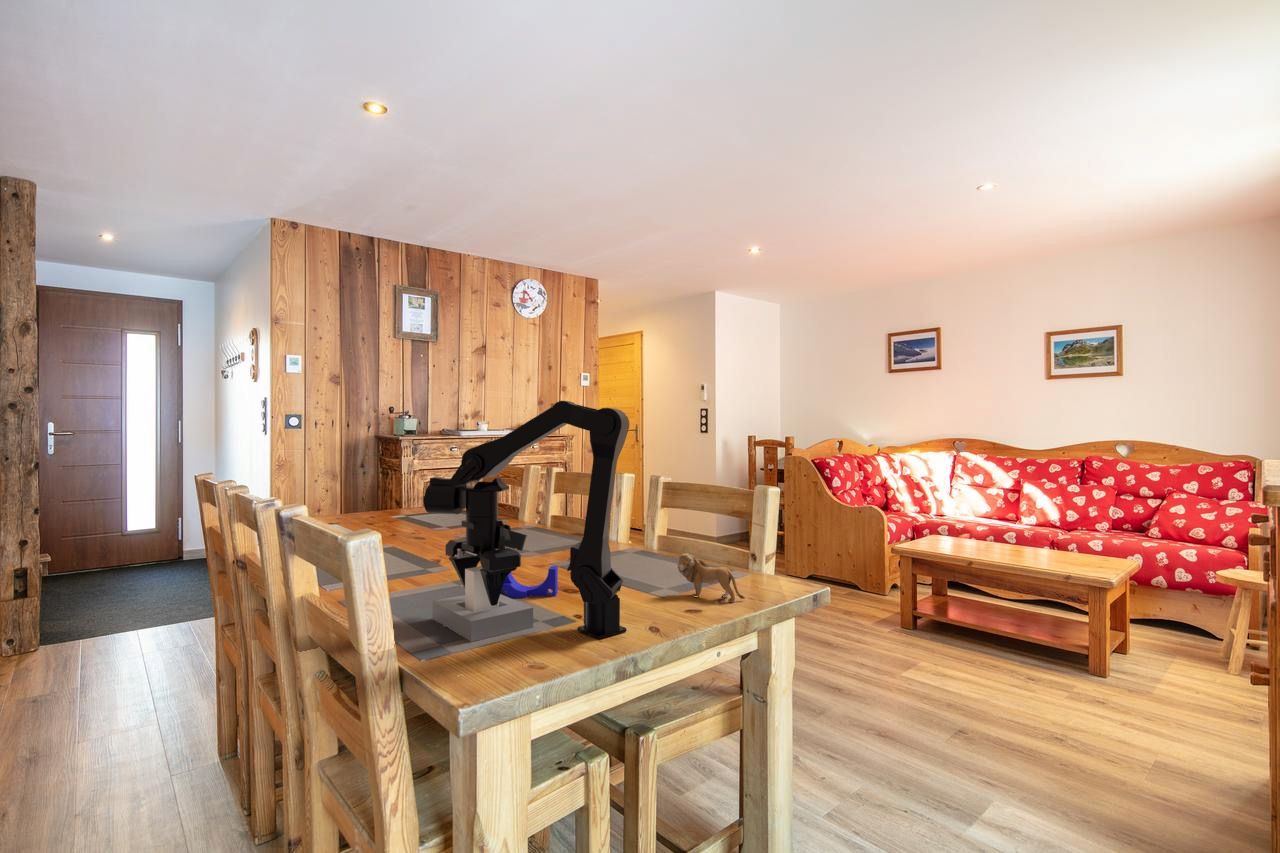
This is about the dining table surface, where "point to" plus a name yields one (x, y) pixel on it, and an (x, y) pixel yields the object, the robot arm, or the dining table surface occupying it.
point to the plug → (476, 591)
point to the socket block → (482, 617)
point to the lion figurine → (706, 575)
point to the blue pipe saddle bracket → (521, 591)
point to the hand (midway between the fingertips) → (481, 599)
